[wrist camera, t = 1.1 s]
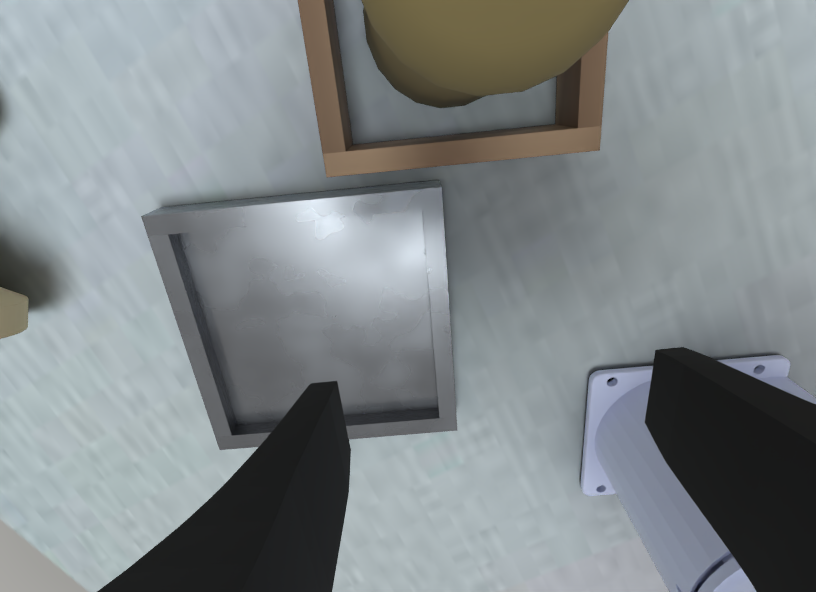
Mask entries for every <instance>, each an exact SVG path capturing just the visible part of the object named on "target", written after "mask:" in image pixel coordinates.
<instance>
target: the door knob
mask: <svg viewBox="0 0 816 592" xmlns="http://www.w3.org/2000/svg"><path fill="white" fill-rule="evenodd" d="M27 327H28V297H27V296H25V295H22V294H19V293H16V292H13V291H10V290H7V289H5V288H2V287H0V339H1V338H5V337H9V336H12V335H15V334H18V333H20V332H22V331H24V330H26V329H27Z"/></svg>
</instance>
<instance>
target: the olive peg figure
mask: <svg viewBox="0 0 816 592" xmlns="http://www.w3.org/2000/svg"><path fill="white" fill-rule="evenodd" d="M628 1H629V0H362V3H363V5H364V10H363V13H364V22H365V30H366V39H367V43H368V45H369V48H370V50H371V53H372V55H373V58H374V60H375V62H376V65H377V67H378V69H379V70H380V71H381V72H382V74H383V75H384V76H385V77H386V79H387V80H388V81H389V82H390V83H391V85H392V86H393V87H394V88H395V89H396V90H398V91H399V92H401V93H402V94H404V95H405V96H407V97H409V98H410V99H412V100H413V101H415V102H417V103H421V104H425V105H429V106H433V107H438V108H446V107H455V106H464V105H467V104H469V103H471V102H473V101H475V100H477V99H480V98H482V97H484V96H486V95H494V94H503V93H513V92H522V91H525V90H527V89H529V88H531V87H533V86H536V85H538V84H540V83H542V82H544V81H546V80H549V79H551V78H553V77H555V76H557V75H560V74H562V73H564V72H565V71H566V70H567V69H569V68H570V67H571V66H572V65H573V64H574V63H575V62H576V61H578V60H579V59H580V58H581V57H582V56H583V55H584V54H586V53H587V52H588V51H589V50H590V49H591V48H592V47H593V46H595V45H596V44H597V43H598V42H599V41H600V40H601V39H602V38H603V37H604V36H605V35H606V33H607V32H608V31H609V30H610V28H611V27H612V25H613V24H614V22H615V21H616V19H617V18H618V16H619V15H620V13H621V12H622V10H623V9H624V7H625V6H626V4H627V3H628Z"/></svg>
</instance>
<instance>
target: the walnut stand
mask: <svg viewBox="0 0 816 592" xmlns="http://www.w3.org/2000/svg"><path fill="white" fill-rule="evenodd" d="M298 5H299V11H300V17H301V23H302V29H303V36H304V42H305V48H306V54H307V60H308V66H309V72H310V78H311V85H312V91H313V97H314V103H315V109H316V115H317V121H318V127H319V133H320V140H321V146H322V152H323V158H324V164H325V170H326V176H327V177H335V176H345V175H355V174H366V173H376V172H386V171H396V170H406V169H416V168H426V167H436V166H447V165H457V164H467V163H477V162H487V161H497V160H507V159H517V158H527V157H538V156H548V155H558V154H568V153H578V152H588V151H598V150H600V139H601V125H602V111H603V97H604V84H605V70H606V56H607V42H608V32H607V33H606V35H605V36H604V37H603V38H602V39H601V40H600V41H599V42H598V43H597V44H596V45H595V46H593V47H592V48H591V49H590V50H589V51H588V52H587V53H586V54H584V55H583V56H582V57H581V58H580V59H579V60H578V61H576V62H575V63H574V64H573V65H572V66H571V67H570V68H569V69H567V70H566V71H565V72H564V73H562V74H560V75H557V88H556V117H555V124H554V125H544V126H534V127H524V128H514V129H504V130H494V131H484V132H474V133H464V134H454V135H444V136H434V137H424V138H415V139H405V140H395V141H385V142H375V143H365V144H355V145H353V142H352V134H351V127H350V120H349V112H348V105H347V98H346V90H345V83H344V76H343V68H342V61H341V54H340V46H339V39H338V32H337V25H336V17H335V10H334V3H333V0H298Z"/></svg>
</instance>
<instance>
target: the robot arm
mask: <svg viewBox="0 0 816 592" xmlns="http://www.w3.org/2000/svg"><path fill="white" fill-rule="evenodd" d="M756 366H758V367H757V368H756V369H754V368H755V367H756ZM789 369H790V361H789V360H788V359H786V358H785V357H783V356H781V355H772V356H761V357H749V358H737V359H725V360H714V359H712V358H710V357H707V356H705V355H702V354H700V353H697V352H695V351H692V350H689V349H687V348H684V347H680V348H670V349H660V350H656V351H655V358H654V364H653V366H643V367H632V368H620V369H608V370H599V371H595V372H594V373H592V374H591V376H590V378H589V384H588V397H587V409H586V422H585V435H584V447H583V460H582V473H581V489H582V491H583V493H584V494H585V495H588V496H595V495H608V494H617V496H618V498H619V499H620V501H621V503H622V505H623V507H624V509H625V511H626V512H627V514H628V516H629V518H630V520H631V522H632V523H633V525H634V527H635V529H636V531H637V533H638V535H639V536H640V538H641V540H642V542H643V544H644V546H645V548H646V549H647V551H648V553H649V555H650V557H651V559H652V561H653V562H654V564H655V566H656V568H657V570H658V572H659V574H660V575H661V577H662V579H663V581H664V583H665V585H666V587H667V588H668V590H669V592H816V398H815V397H814V396H812V395H811V394H810V393H808V392H807V391H806V390H804V389H803V388H801V387H800V386H799V385H797V384H796V383H795V382H793V381H792V380H790V379H789V378H788V377H787V376H788V373H789ZM612 377H614V379H613V380H612V381H610V382H607V381H608V379H610V378H612ZM350 454H351V449H350V444H349V439H348V434H347V429H346V423H345V418H344V413H343V408H342V403H341V398H340V393H339V387H338V382H337V381H330V382H319V383H311V384H310V385H309V386H308V387H307V388H306V389H305V391H304V392H303V393H302V394H301V396H300V397H299V398H298V399H297V401H296V402H295V403H294V405H293V406H292V407H291V408H290V410H289V411H288V412H287V413H286V415H285V416H284V417H283V418H282V420H281V421H280V422H279V423H278V425H277V426H276V427H275V428H274V429H273V431H272V432H271V433H270V434H269V435H268V437H267V438H266V439H265V440H264V441H263V443H262V444H261V445H260V446H259V447H258V449H257V450H256V451H255V452H254V453H253V454H252V455H251V456H250V458H249V459H248V460H247V461H246V462H245V463H244V464H243V465H242V466H241V467H240V468H239V469H238V471H237V472H236V473H235V474H234V475H233V476H232V477H231V478H230V479H229V480H228V481H227V482H226V483H225V484H224V485H223V486H222V487H221V488H220V489H219V490H218V491H217V492H216V493H215V494H214V495H213V496H212V497H211V498H210V499H209V500H208V501H207V502H206V503H205V504H204V505H203V506H202V507H200V508H199V509H198V510H197V511H196V512H195V513H194V514H193V515H192V516H191V517H190V518H189V519H187V520H186V521H185V522H184V523H183V524H182V525H181V526H179V527H178V528H177V529H176V530H175V531H174V532H172V533H171V534H170V535H169V536H167V537H166V538H165V539H164V540H163V541H161V542H160V543H159V544H158V545H156V546H155V547H154V548H153V549H152V550H150V551H149V552H148V553H147V554H145V555H144V556H143V557H142V558H141V559H139V560H138V561H137V562H136V563H134V564H133V565H132V566H131V567H130V568H128V569H127V570H126V571H124V572H123V573H122V574H120V575H119V576H118V577H116V578H115V579H114V580H112V581H111V582H110V583H108V584H107V585H106V586H104V587H103V588H102V589H100V590H99V591H98V592H332V588H333V582H334V576H335V570H336V564H337V558H338V553H339V547H340V541H341V535H342V529H343V523H344V517H345V511H346V505H347V499H348V493H349V476H350ZM598 486H600V487H598Z"/></svg>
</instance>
